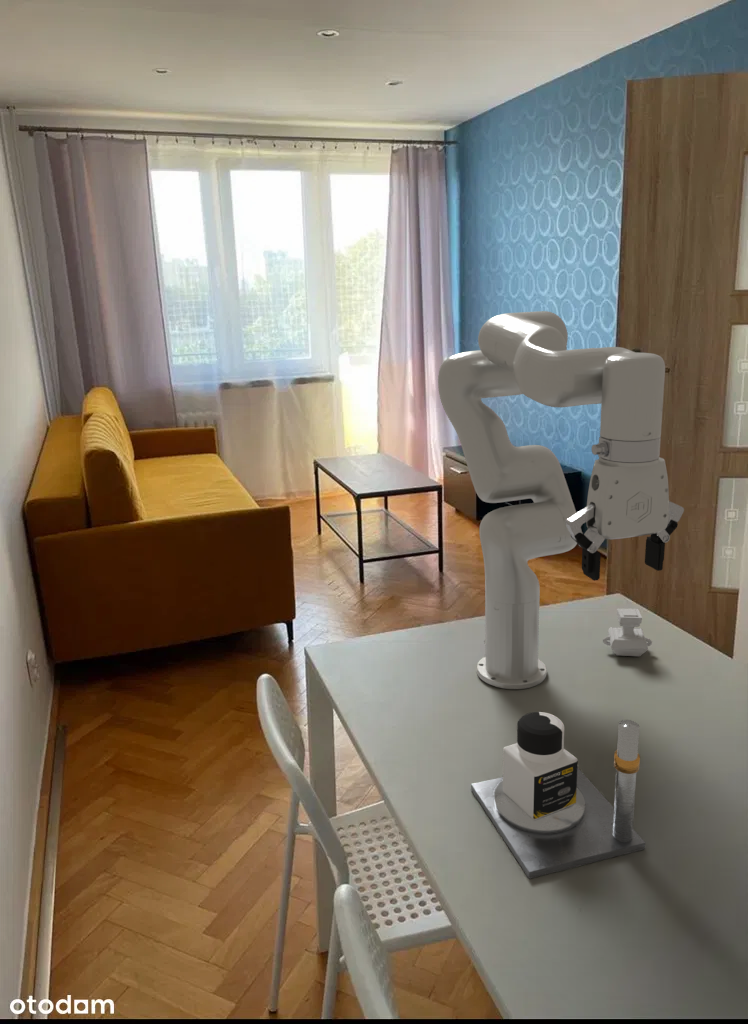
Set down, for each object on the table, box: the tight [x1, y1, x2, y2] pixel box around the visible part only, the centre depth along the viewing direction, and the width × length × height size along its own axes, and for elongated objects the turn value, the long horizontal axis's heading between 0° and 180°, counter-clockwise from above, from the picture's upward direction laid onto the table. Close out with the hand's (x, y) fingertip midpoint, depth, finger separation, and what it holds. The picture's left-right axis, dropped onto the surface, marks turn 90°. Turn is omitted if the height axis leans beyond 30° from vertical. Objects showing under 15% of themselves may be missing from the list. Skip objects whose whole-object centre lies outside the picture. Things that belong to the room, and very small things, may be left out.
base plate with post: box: [470, 719, 646, 879], centre depth 102 cm, size 18×16×17 cm
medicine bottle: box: [502, 711, 579, 820], centre depth 104 cm, size 7×7×12 cm
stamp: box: [602, 608, 653, 657], centre depth 147 cm, size 9×7×8 cm
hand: (622, 572), depth 106 cm, fingers open, 9 cm apart
